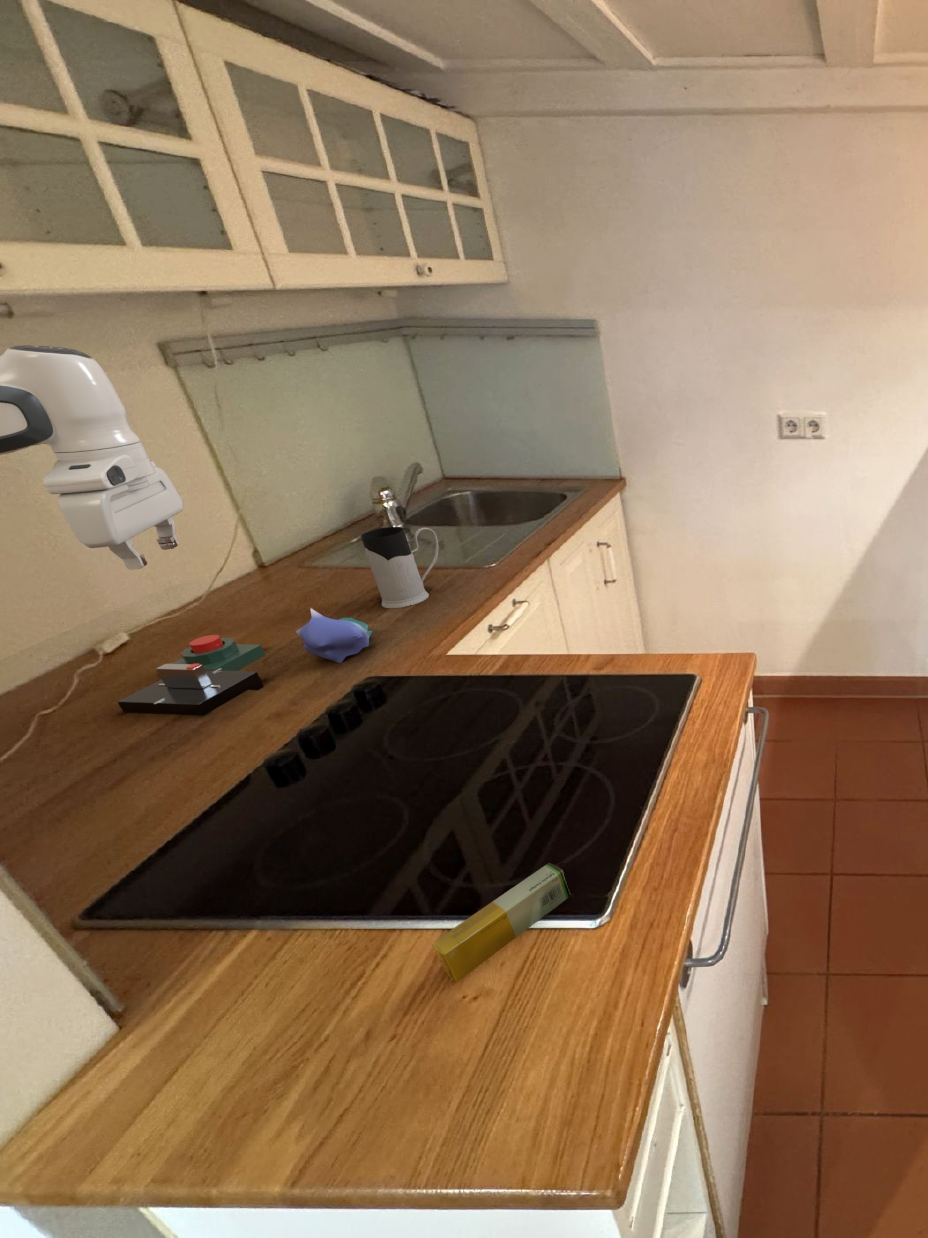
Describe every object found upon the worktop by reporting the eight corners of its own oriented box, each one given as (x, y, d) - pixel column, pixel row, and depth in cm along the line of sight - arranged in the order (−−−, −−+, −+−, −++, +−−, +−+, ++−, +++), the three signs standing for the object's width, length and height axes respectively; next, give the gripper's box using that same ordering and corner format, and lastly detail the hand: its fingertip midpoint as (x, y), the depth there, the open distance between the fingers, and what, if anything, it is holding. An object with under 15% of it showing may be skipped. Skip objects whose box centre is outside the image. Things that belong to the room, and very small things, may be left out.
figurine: (338, 676, 126) (345, 631, 128) (393, 667, 124) (398, 621, 126) (268, 660, 114) (277, 610, 116) (327, 649, 112) (335, 599, 114)
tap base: (124, 719, 104) (113, 702, 103) (191, 683, 114) (183, 667, 112) (204, 722, 103) (195, 704, 101) (266, 685, 112) (258, 669, 111)
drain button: (187, 654, 116) (182, 645, 115) (209, 643, 119) (205, 634, 119) (208, 654, 115) (203, 645, 115) (229, 643, 119) (225, 634, 118)
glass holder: (373, 602, 143) (348, 535, 136) (440, 580, 153) (420, 517, 147) (394, 611, 138) (369, 542, 132) (461, 588, 149) (441, 522, 142)
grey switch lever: (166, 687, 107) (154, 667, 105) (176, 682, 108) (165, 662, 106) (202, 688, 106) (191, 668, 104) (212, 683, 107) (201, 663, 106)
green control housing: (167, 679, 115) (156, 658, 114) (216, 654, 124) (207, 634, 122) (219, 680, 114) (208, 660, 113) (265, 655, 122) (256, 635, 121)
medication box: (559, 890, 71) (550, 860, 69) (574, 900, 69) (565, 869, 68) (443, 974, 62) (429, 942, 61) (457, 988, 60) (443, 954, 59)
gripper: (122, 455, 105) (164, 540, 111) (32, 485, 87) (88, 584, 93) (172, 451, 106) (211, 534, 112) (94, 479, 89) (145, 576, 95)
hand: (155, 557), depth 103 cm, fingers open, 8 cm apart
